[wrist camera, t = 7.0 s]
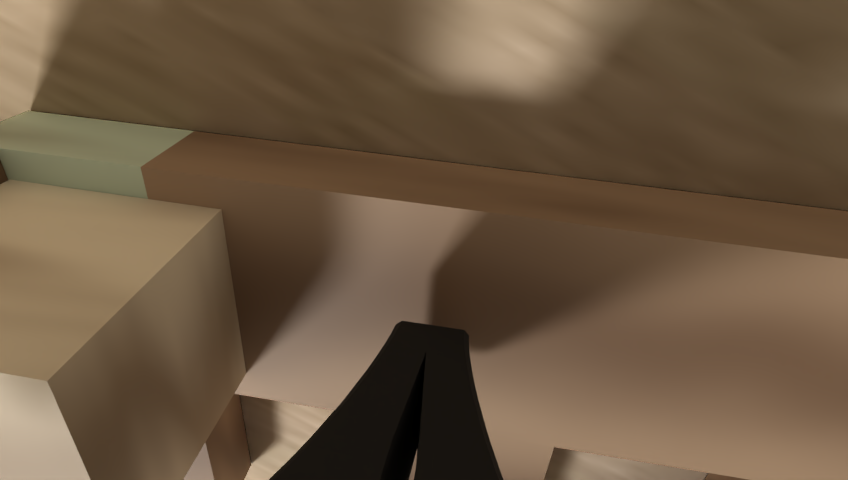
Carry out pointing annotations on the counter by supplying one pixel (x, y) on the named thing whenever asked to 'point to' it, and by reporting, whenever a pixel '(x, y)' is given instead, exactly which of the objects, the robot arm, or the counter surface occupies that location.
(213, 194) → the deck
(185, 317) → the block
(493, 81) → the counter surface
